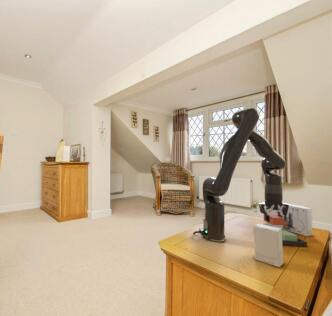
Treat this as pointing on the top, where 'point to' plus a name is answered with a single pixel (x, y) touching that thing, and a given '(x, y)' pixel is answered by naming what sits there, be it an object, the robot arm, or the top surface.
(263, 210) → the robot arm
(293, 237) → the sage pad
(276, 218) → the terracotta pad
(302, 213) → the skincare box
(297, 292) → the top surface
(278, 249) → the cosmetic box
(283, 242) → the frame
